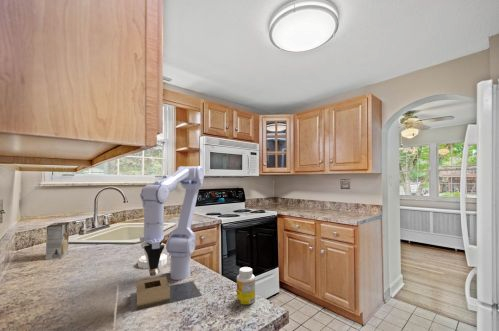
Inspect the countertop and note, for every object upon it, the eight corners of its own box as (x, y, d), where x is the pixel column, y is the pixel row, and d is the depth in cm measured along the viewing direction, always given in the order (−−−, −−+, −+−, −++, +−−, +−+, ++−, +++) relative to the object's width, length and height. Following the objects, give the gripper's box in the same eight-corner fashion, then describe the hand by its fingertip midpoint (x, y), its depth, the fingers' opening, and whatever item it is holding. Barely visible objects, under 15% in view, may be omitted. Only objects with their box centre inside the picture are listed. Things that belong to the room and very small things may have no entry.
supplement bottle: (237, 299, 74) (237, 265, 74) (255, 299, 74) (254, 265, 74) (236, 308, 68) (236, 272, 69) (255, 308, 68) (255, 272, 69)
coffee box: (52, 254, 119) (54, 222, 120) (68, 253, 121) (69, 221, 122) (45, 260, 111) (46, 225, 112) (61, 258, 113) (63, 224, 114)
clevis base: (130, 296, 76) (131, 280, 76) (192, 283, 85) (192, 269, 85) (130, 315, 65) (131, 297, 65) (202, 298, 74) (202, 282, 74)
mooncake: (138, 262, 108) (138, 254, 109) (165, 258, 113) (165, 250, 113) (137, 271, 97) (137, 262, 98) (167, 266, 102) (168, 258, 102)
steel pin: (147, 273, 74) (140, 243, 74) (161, 268, 76) (154, 238, 76) (148, 278, 71) (140, 246, 71) (162, 273, 73) (154, 241, 72)
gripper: (139, 220, 79) (138, 261, 78) (141, 227, 66) (140, 277, 65) (161, 218, 82) (160, 258, 81) (167, 225, 69) (166, 272, 68)
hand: (153, 266), depth 74 cm, fingers closed on steel pin, 4 cm apart
